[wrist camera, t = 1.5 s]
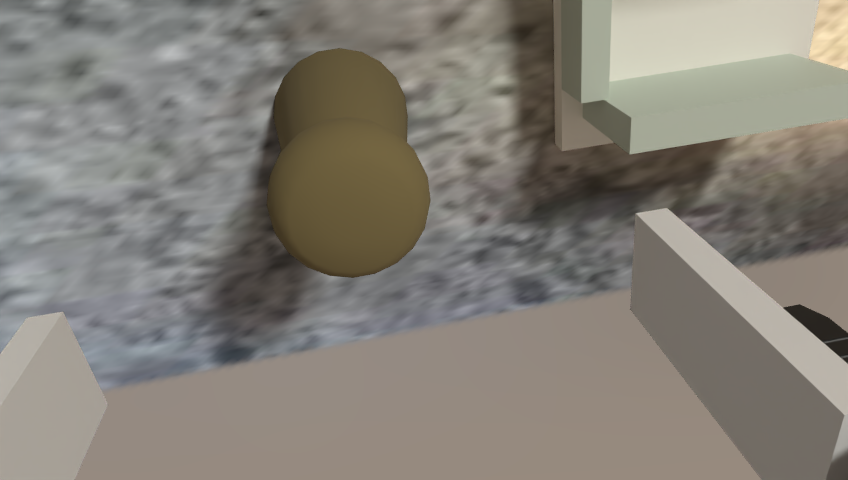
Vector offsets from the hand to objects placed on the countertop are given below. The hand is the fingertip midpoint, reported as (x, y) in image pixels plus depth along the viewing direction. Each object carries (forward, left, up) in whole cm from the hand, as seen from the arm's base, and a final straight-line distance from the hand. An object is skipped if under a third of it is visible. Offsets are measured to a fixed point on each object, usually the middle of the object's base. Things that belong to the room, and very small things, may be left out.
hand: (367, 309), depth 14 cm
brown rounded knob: (0, 0, -16) cm, 16 cm away
